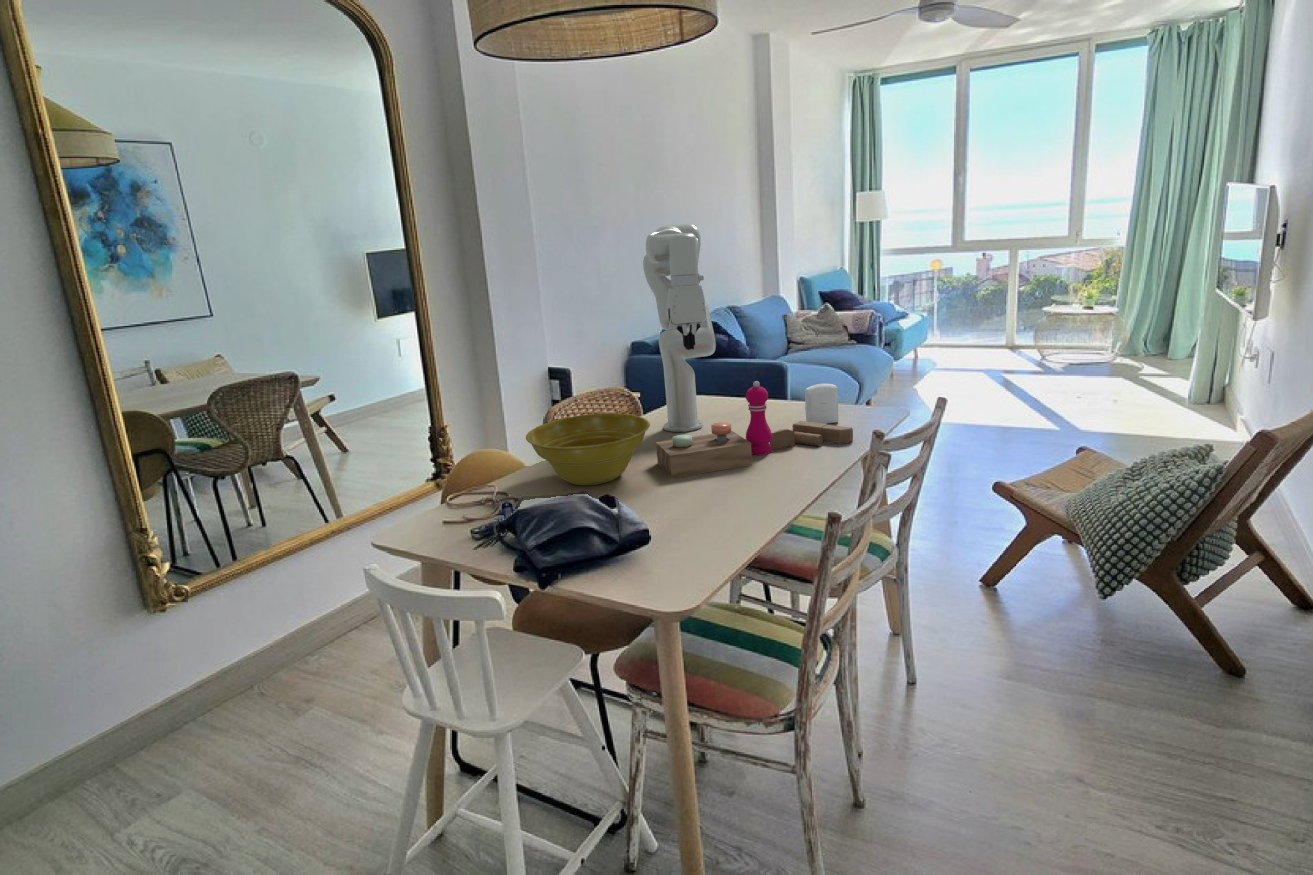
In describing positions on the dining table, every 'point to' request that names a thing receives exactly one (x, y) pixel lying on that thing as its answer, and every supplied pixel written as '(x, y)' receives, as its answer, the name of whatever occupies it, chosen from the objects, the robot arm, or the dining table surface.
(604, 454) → the planter bowl
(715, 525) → the dining table surface
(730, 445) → the button panel
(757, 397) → the pepper mill
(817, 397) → the photo printer
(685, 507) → the dining table surface
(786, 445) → the wooden block set
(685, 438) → the green button
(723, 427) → the red button
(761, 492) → the dining table surface
